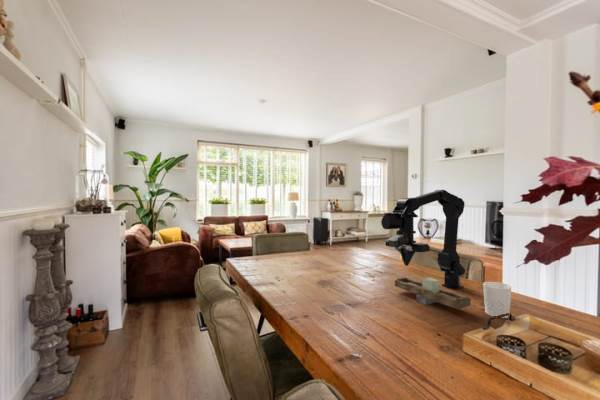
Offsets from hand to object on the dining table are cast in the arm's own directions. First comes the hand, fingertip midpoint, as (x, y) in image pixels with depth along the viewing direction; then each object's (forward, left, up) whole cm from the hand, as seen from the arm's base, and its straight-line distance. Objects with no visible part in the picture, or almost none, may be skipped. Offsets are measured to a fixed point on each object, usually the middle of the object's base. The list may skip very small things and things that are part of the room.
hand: (406, 265), depth 117 cm
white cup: (-10, +30, -12) cm, 34 cm away
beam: (0, +11, -12) cm, 16 cm away
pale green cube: (0, +12, -7) cm, 14 cm away
